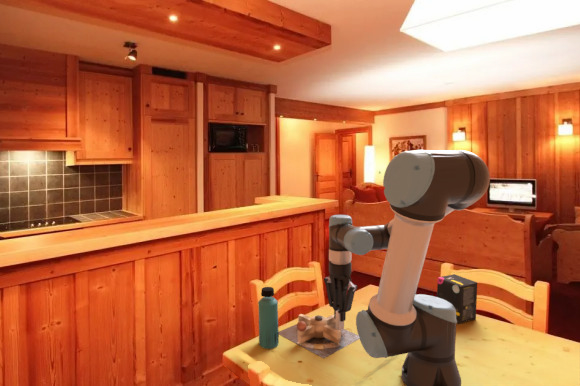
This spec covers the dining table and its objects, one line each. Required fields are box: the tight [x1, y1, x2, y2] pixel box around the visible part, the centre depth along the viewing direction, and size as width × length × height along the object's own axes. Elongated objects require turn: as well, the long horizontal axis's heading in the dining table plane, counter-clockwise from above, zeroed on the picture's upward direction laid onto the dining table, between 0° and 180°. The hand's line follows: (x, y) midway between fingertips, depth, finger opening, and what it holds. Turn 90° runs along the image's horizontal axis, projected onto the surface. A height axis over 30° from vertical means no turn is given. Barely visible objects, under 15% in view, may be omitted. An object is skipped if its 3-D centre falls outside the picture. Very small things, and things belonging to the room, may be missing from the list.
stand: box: [278, 323, 360, 359], centre depth 124 cm, size 22×19×2 cm
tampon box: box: [436, 274, 478, 325], centre depth 140 cm, size 11×9×15 cm
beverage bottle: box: [257, 286, 280, 350], centre depth 117 cm, size 6×7×20 cm
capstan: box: [296, 313, 341, 344], centre depth 123 cm, size 18×19×7 cm
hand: (339, 328), depth 124 cm, fingers closed
